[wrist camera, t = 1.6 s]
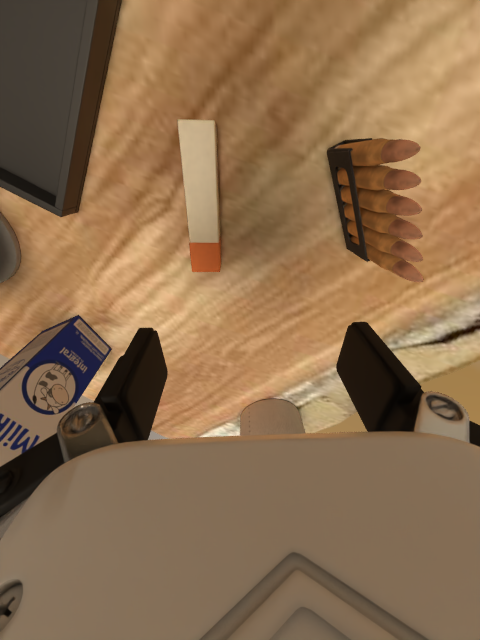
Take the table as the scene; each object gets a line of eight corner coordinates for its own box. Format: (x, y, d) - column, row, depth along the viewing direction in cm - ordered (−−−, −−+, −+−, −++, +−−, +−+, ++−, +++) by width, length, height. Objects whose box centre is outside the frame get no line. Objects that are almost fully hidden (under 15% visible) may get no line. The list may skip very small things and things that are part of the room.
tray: (-96, -194, 13) (-171, -277, 11) (123, -11, 17) (105, -41, 15) (-68, 137, 21) (-107, 133, 19) (78, 212, 25) (61, 217, 23)
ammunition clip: (326, 149, 23) (400, 138, 13) (345, 139, 22) (437, 120, 12) (346, 249, 28) (409, 295, 18) (362, 242, 28) (435, 286, 18)
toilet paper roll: (304, 428, 49) (321, 493, 39) (248, 438, 51) (252, 503, 41) (294, 392, 42) (312, 459, 33) (231, 405, 44) (231, 473, 34)
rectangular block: (183, 124, 21) (176, 119, 19) (217, 125, 22) (214, 119, 19) (195, 262, 29) (192, 272, 26) (221, 262, 29) (220, 272, 26)
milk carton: (112, 349, 36) (8, 511, 19) (78, 363, 37) (-48, 525, 20) (77, 314, 32) (-89, 474, 15) (40, 330, 33) (-150, 495, 17)
